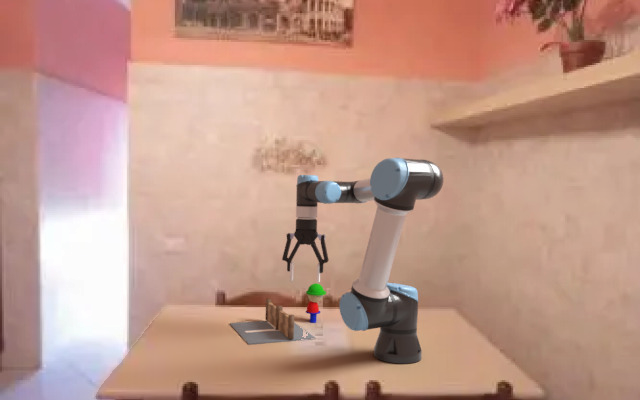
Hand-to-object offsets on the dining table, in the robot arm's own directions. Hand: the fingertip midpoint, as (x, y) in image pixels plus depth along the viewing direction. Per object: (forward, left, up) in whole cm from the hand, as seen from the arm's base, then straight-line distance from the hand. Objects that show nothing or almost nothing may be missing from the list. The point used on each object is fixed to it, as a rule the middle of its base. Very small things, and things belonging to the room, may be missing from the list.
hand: (304, 281), depth 204 cm
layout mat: (+9, +10, -19) cm, 23 cm away
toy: (+18, -11, -20) cm, 29 cm away
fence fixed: (+15, +6, -19) cm, 26 cm away
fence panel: (+1, +6, -19) cm, 20 cm away
